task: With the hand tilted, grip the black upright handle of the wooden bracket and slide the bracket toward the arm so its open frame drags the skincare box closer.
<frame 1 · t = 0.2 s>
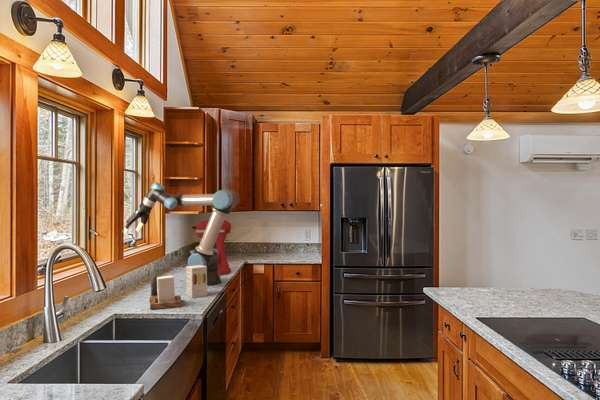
hand: (130, 231, 258), 35 cm above the worktop, tool tilted 35°, fingers open, 13 cm apart
supplement box: (196, 295, 229), on the worktop
wooden bracket: (165, 289, 214), point 7 cm above the worktop, slide at 0.0 cm
skincare box: (166, 305, 209), resting in wooden bracket
stand mixer: (211, 273, 299), on the worktop
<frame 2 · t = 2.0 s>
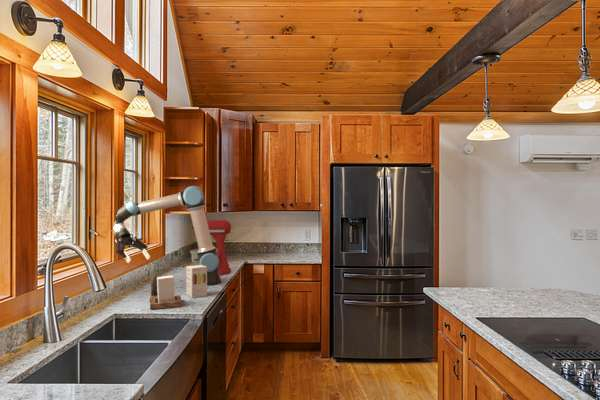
hand: (139, 259, 226), 21 cm above the worktop, tool tilted 45°, fingers open, 13 cm apart
nothing on the worktop moved.
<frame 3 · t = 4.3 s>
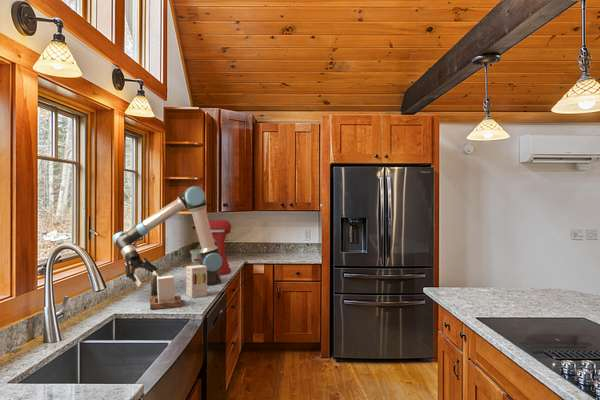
hand: (149, 282, 222), 9 cm above the worktop, tool tilted 45°, fingers open, 13 cm apart
nothing on the worktop moved.
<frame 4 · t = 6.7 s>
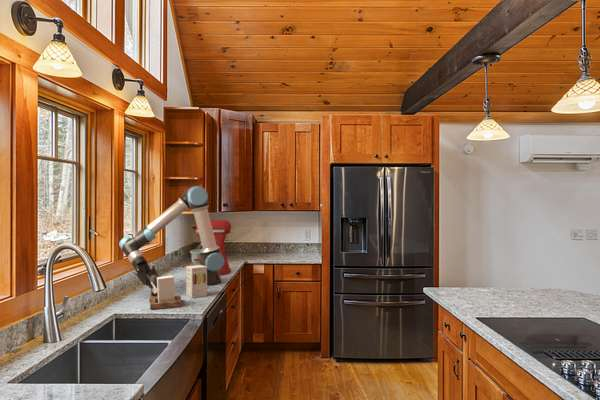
hand: (159, 291, 220), 5 cm above the worktop, tool tilted 45°, fingers closed on wooden bracket, 3 cm apart
wooden bracket: (165, 289, 214), point 7 cm above the worktop, slide at 0.0 cm, touching gripper
everything else where it was.
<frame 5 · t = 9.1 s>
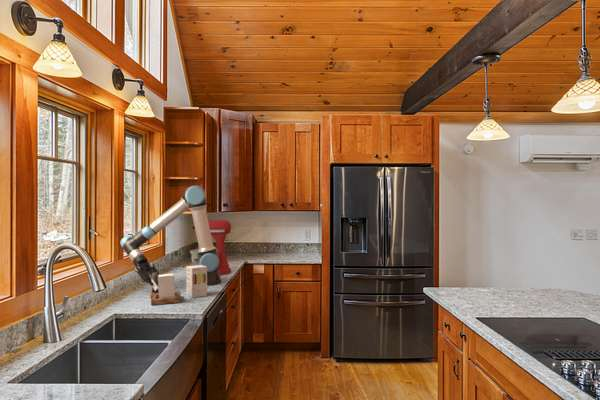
hand: (159, 288, 228), 5 cm above the worktop, tool tilted 45°, fingers closed on wooden bracket, 3 cm apart
wooden bracket: (165, 286, 222), point 7 cm above the worktop, slide at 8.8 cm, touching gripper, skincare box
skincare box: (167, 302, 215), resting in wooden bracket
everything else where it was.
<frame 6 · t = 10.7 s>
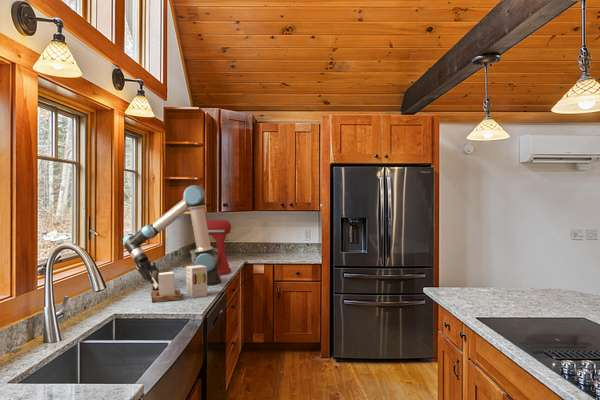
hand: (159, 286, 234), 4 cm above the worktop, tool tilted 45°, fingers closed on wooden bracket, 3 cm apart
wooden bracket: (165, 284, 228), point 7 cm above the worktop, slide at 14.8 cm, touching gripper, skincare box
skincare box: (167, 299, 221), resting in wooden bracket
everything else where it was.
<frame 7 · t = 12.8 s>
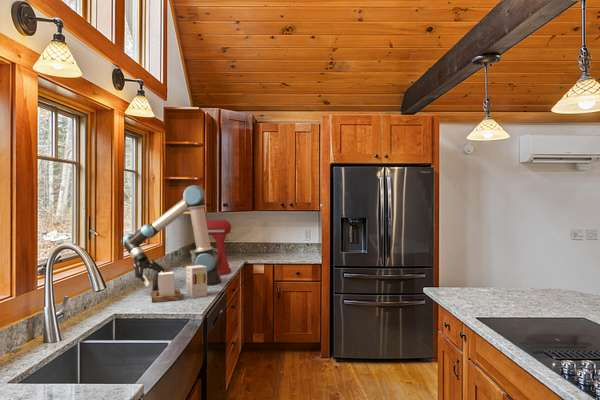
hand: (157, 282, 235), 6 cm above the worktop, tool tilted 45°, fingers open, 13 cm apart
wooden bracket: (165, 284, 228), point 7 cm above the worktop, slide at 14.9 cm
skincare box: (167, 299, 221), resting in wooden bracket
everything else where it was.
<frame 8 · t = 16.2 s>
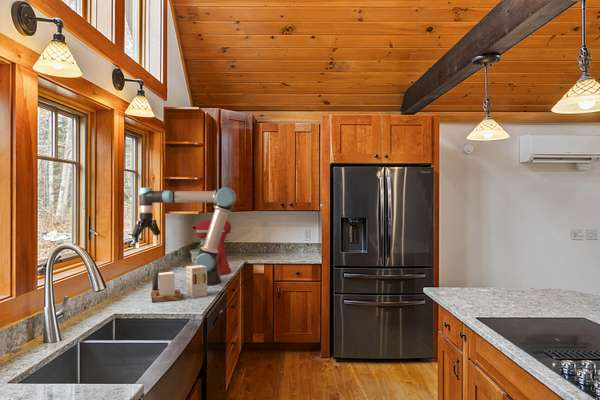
hand: (146, 246, 246), 27 cm above the worktop, tool pointing down, fingers open, 13 cm apart
nothing on the worktop moved.
at the end: wooden bracket slide at 14.9 cm; skincare box inside the target area (2.1 cm from its centre), resting in wooden bracket; skincare box tilted 0° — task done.
